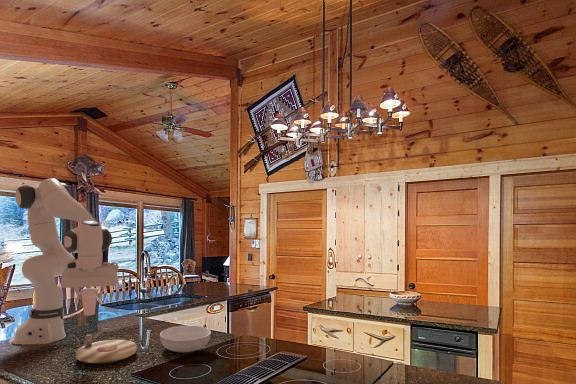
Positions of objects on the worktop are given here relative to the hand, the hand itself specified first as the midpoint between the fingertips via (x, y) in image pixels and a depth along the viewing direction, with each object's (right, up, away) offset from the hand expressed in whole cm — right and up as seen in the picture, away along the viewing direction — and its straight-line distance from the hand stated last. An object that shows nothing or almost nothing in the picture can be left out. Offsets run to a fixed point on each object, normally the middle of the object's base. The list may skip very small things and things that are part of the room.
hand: (90, 298), depth 168 cm
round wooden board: (+6, -22, +1) cm, 23 cm away
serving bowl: (+34, -25, +12) cm, 44 cm away
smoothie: (0, -7, 0) cm, 7 cm away
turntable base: (+6, -24, +1) cm, 25 cm away
